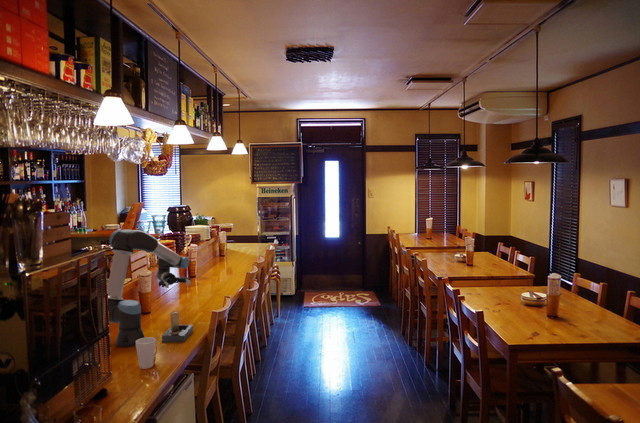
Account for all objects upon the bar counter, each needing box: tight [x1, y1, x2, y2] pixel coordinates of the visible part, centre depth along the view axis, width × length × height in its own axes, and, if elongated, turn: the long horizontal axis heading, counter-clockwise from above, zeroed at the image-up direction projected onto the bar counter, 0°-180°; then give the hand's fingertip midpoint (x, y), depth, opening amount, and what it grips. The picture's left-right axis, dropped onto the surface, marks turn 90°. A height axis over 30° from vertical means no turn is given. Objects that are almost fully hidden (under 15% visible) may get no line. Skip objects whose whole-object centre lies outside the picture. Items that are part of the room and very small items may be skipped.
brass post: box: [170, 310, 180, 334], centre depth 256 cm, size 6×6×15 cm
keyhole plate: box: [161, 324, 194, 343], centre depth 262 cm, size 19×12×4 cm, turn 1°
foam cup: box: [135, 336, 157, 370], centre depth 219 cm, size 10×9×13 cm
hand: (179, 284), depth 274 cm, fingers open, 13 cm apart
